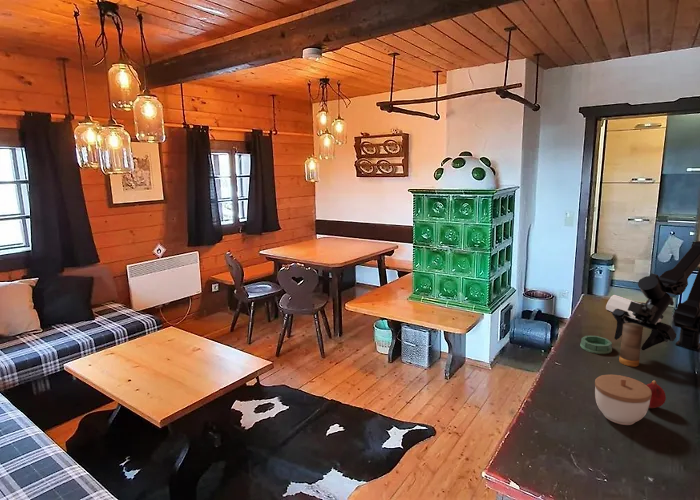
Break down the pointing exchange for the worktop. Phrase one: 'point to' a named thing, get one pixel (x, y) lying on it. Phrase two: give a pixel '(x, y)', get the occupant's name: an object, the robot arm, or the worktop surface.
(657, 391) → the onion
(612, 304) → the pale pink faceted bar
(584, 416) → the worktop surface
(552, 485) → the worktop surface
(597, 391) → the lidded bowl
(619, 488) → the worktop surface
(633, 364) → the sleeve
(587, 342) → the socket
